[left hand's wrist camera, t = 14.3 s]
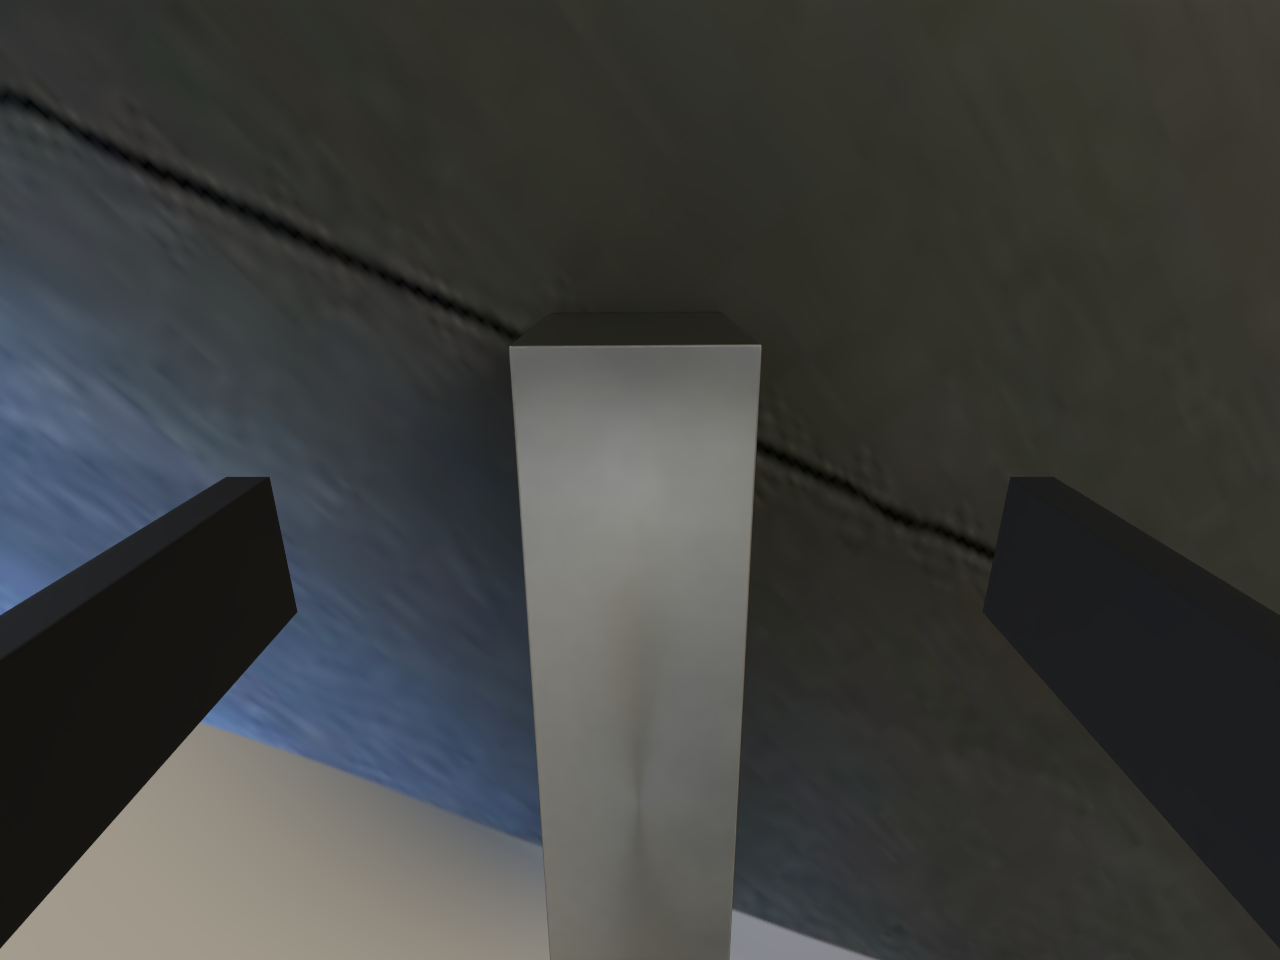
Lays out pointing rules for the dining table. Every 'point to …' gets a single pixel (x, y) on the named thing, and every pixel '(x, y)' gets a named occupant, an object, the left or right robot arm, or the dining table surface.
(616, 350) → the bar
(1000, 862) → the dining table surface
